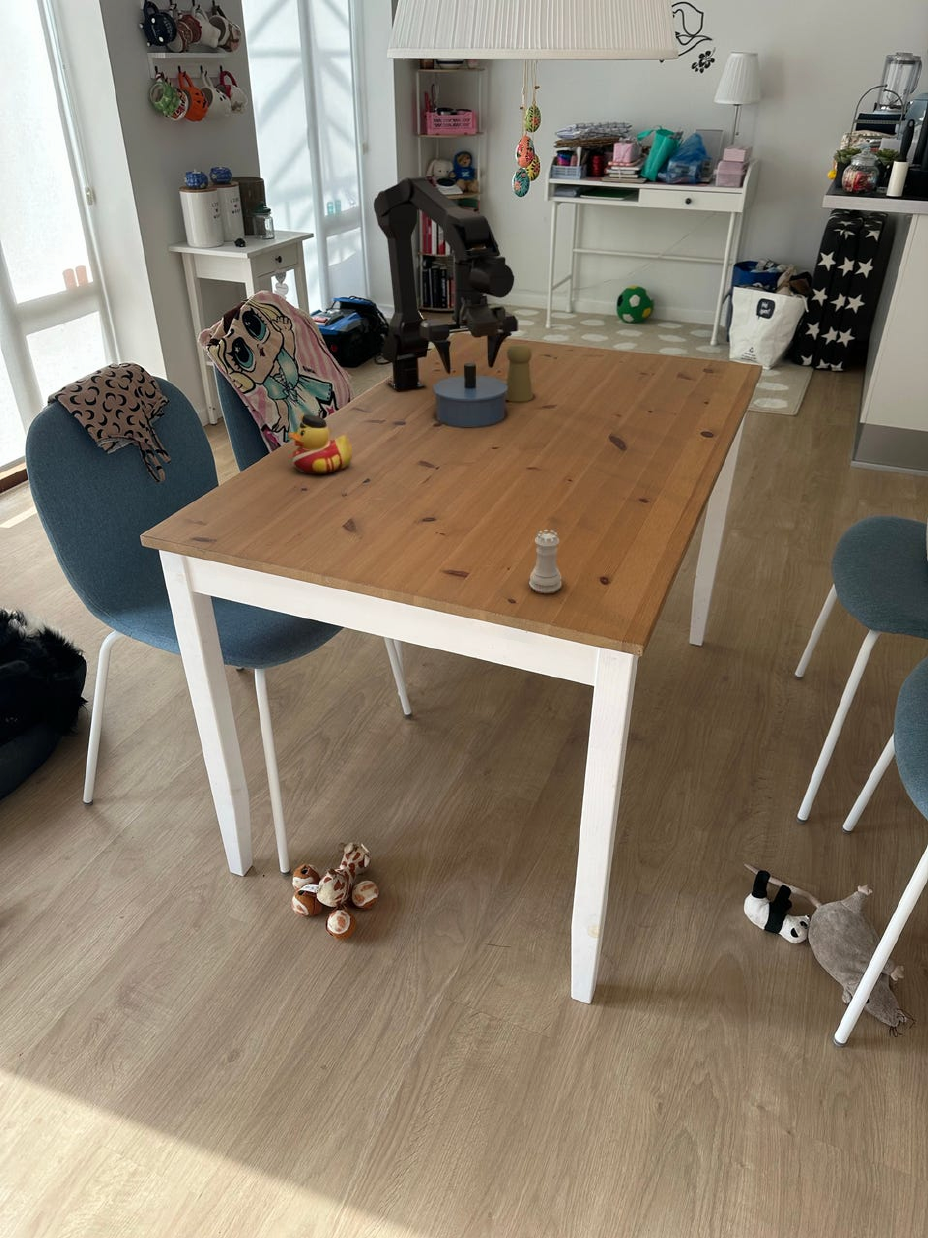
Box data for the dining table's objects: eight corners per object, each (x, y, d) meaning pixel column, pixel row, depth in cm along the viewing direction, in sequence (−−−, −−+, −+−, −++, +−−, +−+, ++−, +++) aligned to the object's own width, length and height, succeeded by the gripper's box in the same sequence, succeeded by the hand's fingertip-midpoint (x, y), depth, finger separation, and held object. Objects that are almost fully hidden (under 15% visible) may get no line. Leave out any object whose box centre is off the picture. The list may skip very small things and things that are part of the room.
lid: (422, 386, 180) (420, 359, 177) (488, 377, 185) (488, 350, 182) (450, 408, 169) (449, 379, 166) (520, 397, 174) (520, 369, 171)
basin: (426, 409, 183) (425, 384, 180) (487, 400, 187) (487, 375, 185) (452, 431, 172) (451, 404, 169) (516, 420, 176) (516, 394, 174)
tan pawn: (522, 403, 185) (523, 350, 179) (499, 398, 188) (499, 346, 183) (538, 395, 189) (539, 344, 184) (514, 390, 193) (515, 339, 187)
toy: (289, 462, 159) (282, 408, 154) (347, 454, 162) (342, 401, 157) (297, 481, 152) (290, 426, 147) (358, 473, 155) (353, 418, 149)
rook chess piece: (529, 577, 122) (531, 526, 118) (561, 578, 122) (564, 527, 118) (528, 594, 119) (530, 541, 114) (561, 595, 118) (564, 542, 114)
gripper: (439, 302, 157) (441, 388, 165) (532, 291, 163) (530, 375, 172) (417, 289, 166) (420, 372, 174) (506, 280, 172) (505, 360, 180)
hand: (469, 370), depth 175 cm, fingers open, 9 cm apart
